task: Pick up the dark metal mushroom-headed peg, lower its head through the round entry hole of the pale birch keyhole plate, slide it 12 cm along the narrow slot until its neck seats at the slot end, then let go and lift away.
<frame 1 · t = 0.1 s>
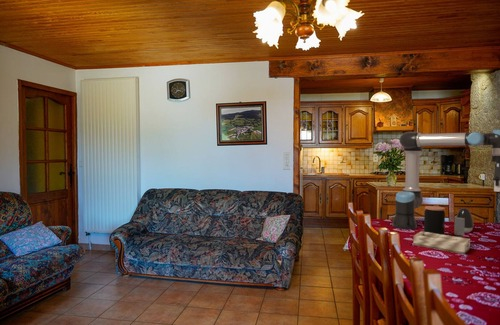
hand: (498, 190, 199), 28 cm above the table, tool pointing down, fingers open, 13 cm apart
coffee jar: (433, 237, 197), on the table
keyhole plate: (441, 246, 178), on the table
metal peg: (458, 244, 183), on the table
dark grey egg shape: (463, 231, 211), on the table
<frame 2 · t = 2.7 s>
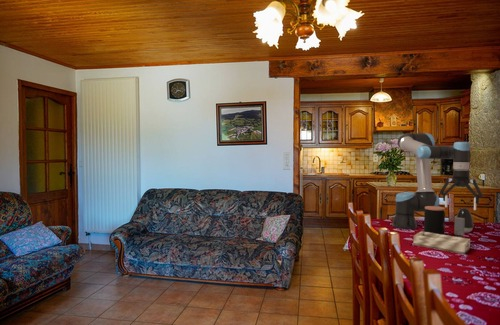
hand: (460, 208, 182), 20 cm above the table, tool pointing down, fingers open, 13 cm apart
nothing on the table moved.
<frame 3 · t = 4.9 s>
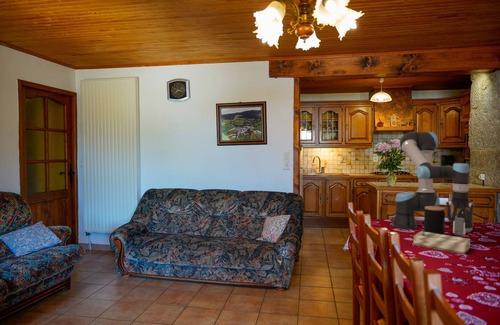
hand: (459, 233, 183), 6 cm above the table, tool pointing down, fingers closed on metal peg, 4 cm apart
metal peg: (458, 244, 183), on the table, touching gripper
everything else where it was.
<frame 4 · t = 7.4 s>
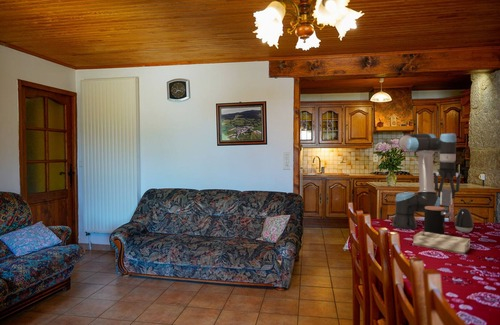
hand: (446, 203, 182), 23 cm above the table, tool pointing down, fingers closed on metal peg, 4 cm apart
metal peg: (446, 214, 182), point 16 cm above the table, touching gripper
everything else where it was.
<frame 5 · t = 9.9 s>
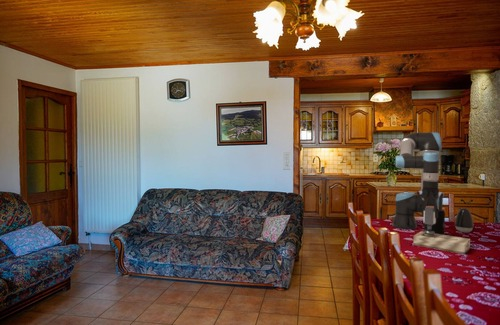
hand: (429, 222, 182), 12 cm above the table, tool pointing down, fingers closed on metal peg, 4 cm apart
metal peg: (429, 233, 182), point 6 cm above the table, touching gripper
everything else where it was.
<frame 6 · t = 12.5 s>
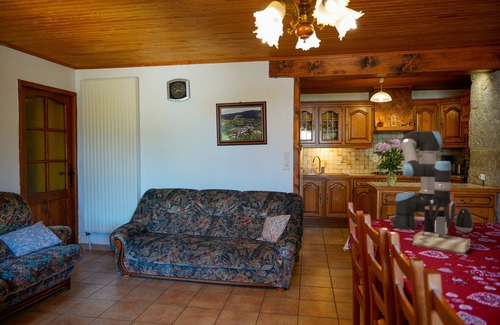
hand: (441, 232, 178), 8 cm above the table, tool pointing down, fingers closed on metal peg, 4 cm apart
metal peg: (440, 243, 178), point 1 cm above the table, touching gripper
everything else where it was.
when the fingers open (7 cm above the table, at t = 14.8 s): metal peg stays where it is, resting on keyhole plate.
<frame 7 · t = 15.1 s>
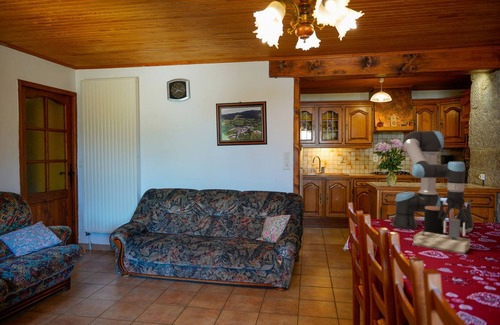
hand: (454, 233, 174), 8 cm above the table, tool pointing down, fingers open, 8 cm apart
metal peg: (453, 246, 174), point 1 cm above the table, touching keyhole plate
everything else where it was.
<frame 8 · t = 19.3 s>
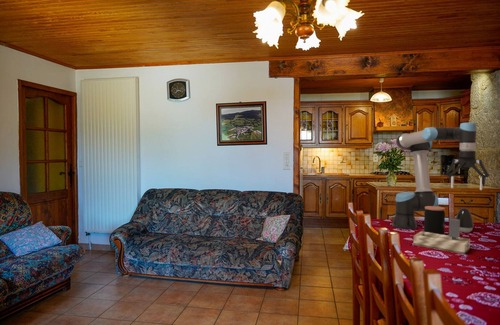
hand: (466, 188, 183), 31 cm above the table, tool pointing down, fingers open, 13 cm apart
nothing on the table moved.
at the end: metal peg 0.0 cm from the target spot on the keyhole plate, point 1.0 cm above the keyhole plate's base; metal peg tilted 1°; the gripper is holding nothing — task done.
